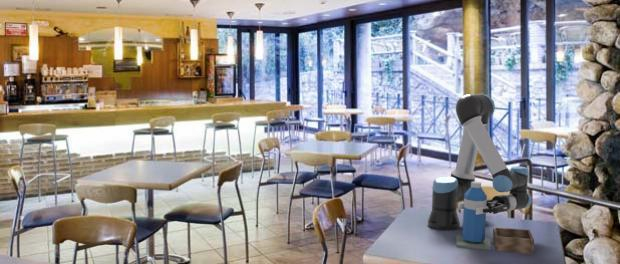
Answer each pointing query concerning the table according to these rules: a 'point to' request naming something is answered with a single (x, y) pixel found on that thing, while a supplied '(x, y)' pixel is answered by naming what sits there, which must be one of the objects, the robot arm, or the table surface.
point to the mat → (473, 243)
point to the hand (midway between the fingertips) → (467, 208)
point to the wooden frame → (513, 240)
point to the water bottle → (474, 214)
